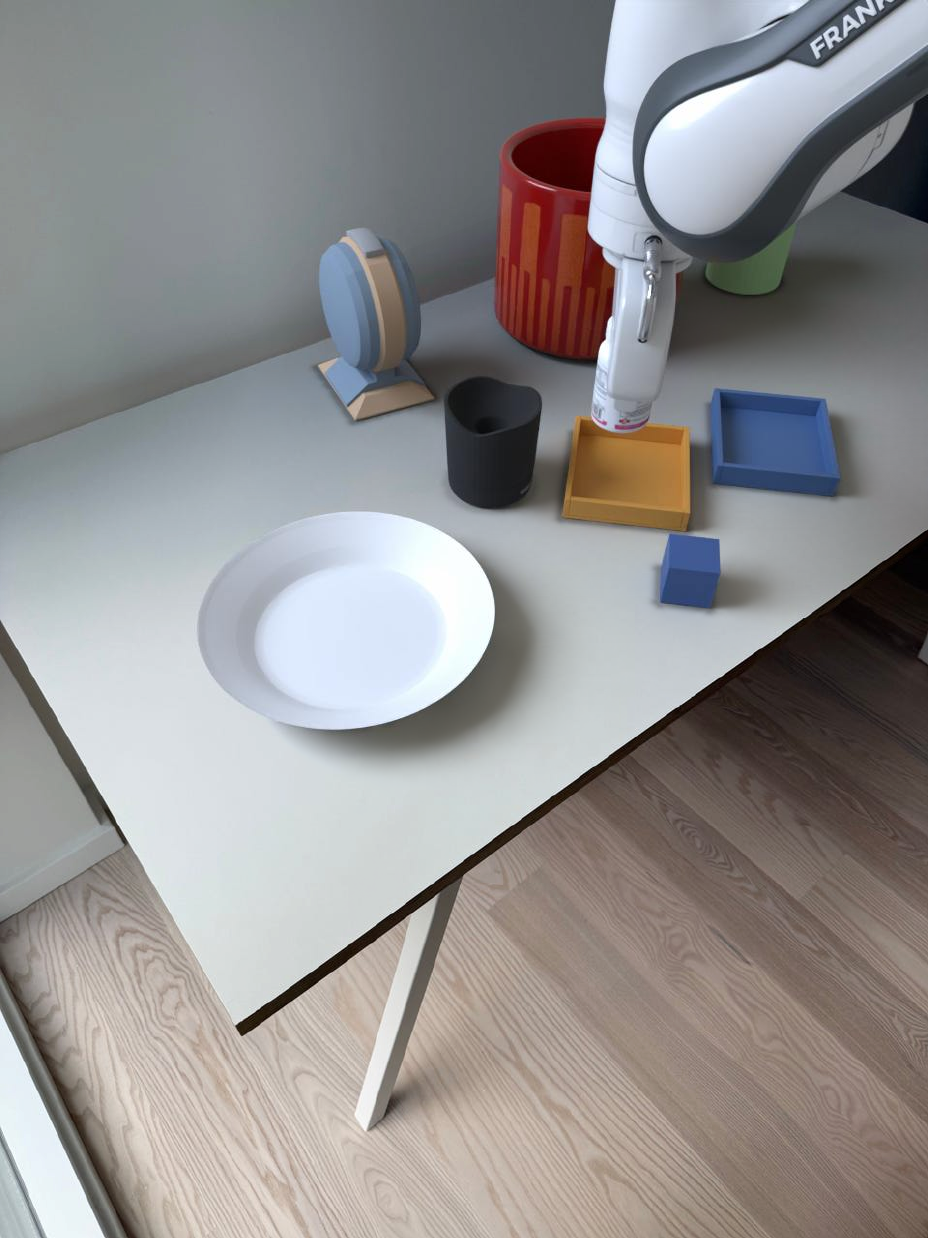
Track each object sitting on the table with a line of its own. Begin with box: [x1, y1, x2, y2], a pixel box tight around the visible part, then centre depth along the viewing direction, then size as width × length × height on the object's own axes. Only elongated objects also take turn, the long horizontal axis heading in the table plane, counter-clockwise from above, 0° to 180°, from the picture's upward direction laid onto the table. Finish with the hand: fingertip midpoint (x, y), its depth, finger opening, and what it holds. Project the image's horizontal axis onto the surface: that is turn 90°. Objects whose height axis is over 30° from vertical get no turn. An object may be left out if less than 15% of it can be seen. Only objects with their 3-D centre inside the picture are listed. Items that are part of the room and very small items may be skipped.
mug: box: [705, 220, 799, 296], centre depth 119 cm, size 13×10×12 cm
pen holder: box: [443, 374, 543, 509], centre depth 89 cm, size 9×9×10 cm
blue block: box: [659, 533, 722, 609], centre depth 81 cm, size 4×4×4 cm
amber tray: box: [562, 415, 691, 532], centre depth 92 cm, size 12×14×2 cm
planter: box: [493, 116, 685, 361], centre depth 108 cm, size 23×23×20 cm
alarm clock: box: [317, 226, 436, 422], centre depth 98 cm, size 14×10×18 cm
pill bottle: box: [590, 316, 653, 433], centre depth 70 cm, size 5×5×8 cm
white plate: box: [196, 510, 496, 731], centre depth 77 cm, size 25×25×4 cm
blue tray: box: [709, 387, 841, 497], centre depth 96 cm, size 12×14×2 cm
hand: (625, 384), depth 71 cm, fingers closed on pill bottle, 5 cm apart
